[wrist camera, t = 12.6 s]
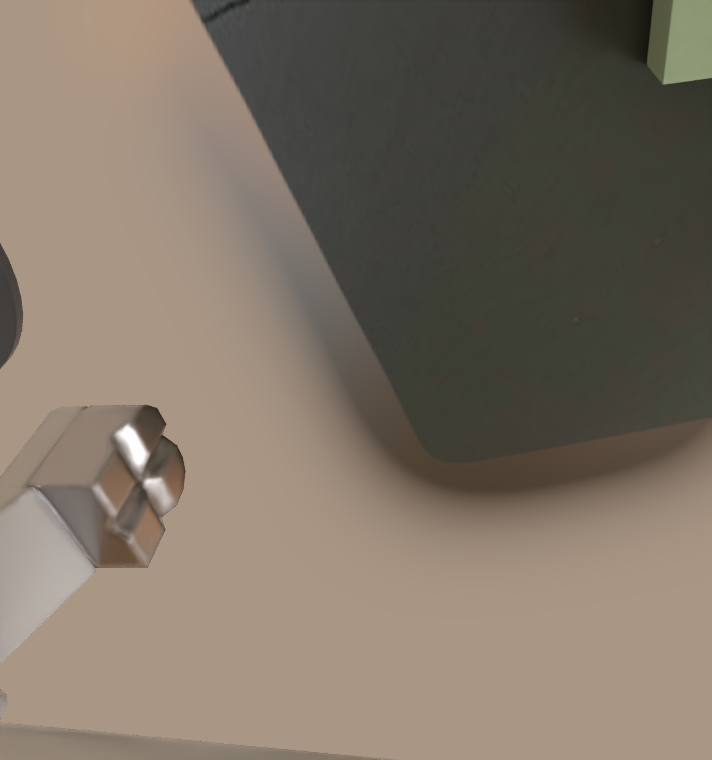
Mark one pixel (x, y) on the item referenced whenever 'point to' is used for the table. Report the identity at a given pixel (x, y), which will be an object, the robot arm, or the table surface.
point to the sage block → (681, 40)
